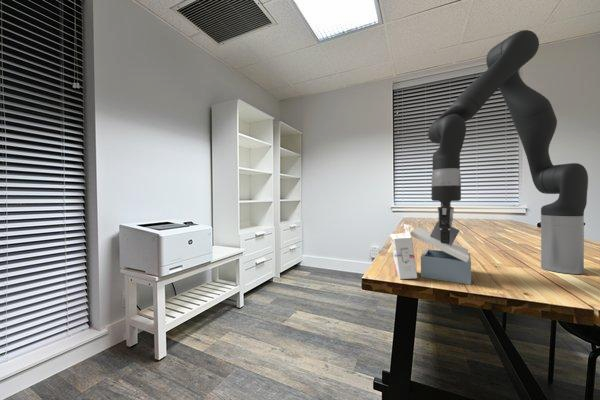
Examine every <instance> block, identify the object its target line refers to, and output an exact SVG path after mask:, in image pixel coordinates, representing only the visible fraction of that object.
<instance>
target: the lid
mask: <svg viewBox="0 0 600 400" xmlns="http://www.w3.org/2000/svg"><path fill="white" fill-rule="evenodd" d="M442 224H444V223H442ZM450 228H451V229H450V242H449V244H445V243H441V230H440V227H439V221H438V220H437V222H436V223H435V225H434V228H433V229H432V231H428V230H427V229H424V228H422V227H420V226H418V227H416V228H415V229H413V230H412V231H411V230H410V233H411V237H412V238H415V239H417V240H419V241H421V242H424V243H425V244H427V245H429V246H431V247H434V248H435V249H437V250H440V251H444V252H446V253H448V254H450V255H452V256H454V257H456V258H458V259H461V260H463V261H465V262H467V261H468V259H469V254H468V253H469V249H468V248H466V247H465V246H462V245H460V244H457V243H455V242H454V241H455V240H456V239H457V237H458V235H459V233H460V229H459V228H457V227H453V226H452V227H451V226H450ZM448 231H449V230H448Z"/></svg>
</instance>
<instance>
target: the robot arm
mask: <svg viewBox="0 0 600 400" xmlns="http://www.w3.org/2000/svg"><path fill="white" fill-rule="evenodd" d="M539 40H540V39H539V37H538V36H537V34H536V33H535V32H534V31H532V30H528V29H523V30H519V31H517V32H514V33H513V34H512V35H509V36H508V37H506V38H504V40H502V41H501V42H499V43H497V44H496V45H494V46H493V47H492V48H491V49H489V51H487V54H486V66H487V69H486V70H485V71H484V72H483V73H482V74H481V75H480V76H478V77H477V78H475V80H474V81H472V82H471V83H470V84H469V85H468V86H467V87H466V88H464V90H463V91H462V92H461V93H460V94H459V96H458V97H456V99H455V100H454V101H453V103H452V104H451V105H450V106H449V107H448V108H447V109H446V110H445V111H443V113H441V115H439V116H438V117H437V118H436V119H435V120H434V121H433V122H432V123H431V125H430V126H429V128H428V131H427V136H428V139H429V141H430V142H432V143H434V144H437V145H439V147H438V149H437V150H436V151H434V153H433V155H432V170H431V171H432V173H431V193H430V195H431V201H433V202H440V206H438V207H437V214H438V216H437V218H438V220H437V221H439V227H440V230H441V243H445V244H449V242H450V229H451V228H450V226H451V227H453V225H452V224H453V220H454V212H455V211H454V209H455V208H454V207H453V206H451V204H452V202H459V201H461V199H462V175H461V170H460V169H461V151H462V150H463V146H464V142H465V137H466V134H467V125H466V122H467V121H469V120H470V119H472V118H474V116H476V114H477V113H478V112H479V111H480V110H481V108H482V107H484V105H485V104H486V103H487V101H489V100H490V98H491V97H492V96H493V95H494V94H495V93H496V92H497V91H498V90H499V92H500V93H501V96H502V98H503V100H504V102H505V104H506V106H507V110H508V112H509V113H510V116H511V120H512V123H513V125H514V128H515V130H516V132H517V134H518V137H519V139H520V141H521V144H522V147H523V150H524V152H525V155H526V159H527V163H528V164H527V165H528V167H529V172H530V175H531V179H532V182H533V185H534V186H535V188H536V189H537V190H538V192H539V193H542V194H545V195H546V194H547V195H557V194H558V198H557V199H556V200H555V201H553V202H551V203H548V204H545V205H542V206H541V208H540V267H541V268H542V269H544V270H546V271H547V270H548V271H551V272H554V273H555V272H557V273H563V274H570V275H571V274H572V275H583V274H584V273H585V243H584V242H585V217H584V216H585V209H586V207H587V203H588V202H587V201H588V189H589V188H588V187H589V175H588V171H587V169H586V168H585V166H584V165H583V164H580V163H577V162H575V163H574V162H572V163H563V164H561V163H560V164H555V165H554V164H553V162H552V160H551V156H550V152H549V151H550V150H549V149H550V144H551V142H552V139H553V137H554V134H555V133H556V130H557V127H558V120H557V116H556V113H555V111H554V108H553V106H552V103H551V102H550V100H549V99H548V98H547V97H545V96H544V94H541V93H540V92H538V90H535V89H533V88H531V87H530V86H529V85H528V84H526V83H525V82H524V80H523V79H522V78H521V75H520V74H519V70H520V69H521V68H522V67H523V66H524V65H526V63H528V62H529V61H531V59H533V58H534V57H535V56H536V54H537V52H538V50H539V47H540V41H539ZM442 223H444V224H442ZM448 230H449V231H448Z"/></svg>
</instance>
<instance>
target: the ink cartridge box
mask: <svg viewBox="0 0 600 400" xmlns="http://www.w3.org/2000/svg"><path fill="white" fill-rule="evenodd" d="M403 227H404V231H405V232H404V233H403V232H401V233H391V234H389V236H390V241H391V248H392V257H393V263H394V270H395V272H396V274H397V277H398V278H399V280H413V279H418V271H417V267H416V258H415V252H414V251H415V250H414V244H413V237H412V236H411V229H410V226H409V225H408V224H406V223H403Z"/></svg>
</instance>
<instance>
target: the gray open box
mask: <svg viewBox="0 0 600 400" xmlns="http://www.w3.org/2000/svg"><path fill="white" fill-rule="evenodd" d="M468 254H469V259H468V261H467V262H465V261H463V260H461V259H458V258H456V257H454V256H452V255H450V254H448V253H446V252H444V251H442V250H440V249H430V248H429V249H428V248H425V249H424V251H423V253H422V254H421V256H420V277H421V278H426V279H432V280H437V281H446V282H452V283H459V284H464V285H465V284H466V285H471V286H472V258H471V253H470V252H468Z"/></svg>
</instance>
